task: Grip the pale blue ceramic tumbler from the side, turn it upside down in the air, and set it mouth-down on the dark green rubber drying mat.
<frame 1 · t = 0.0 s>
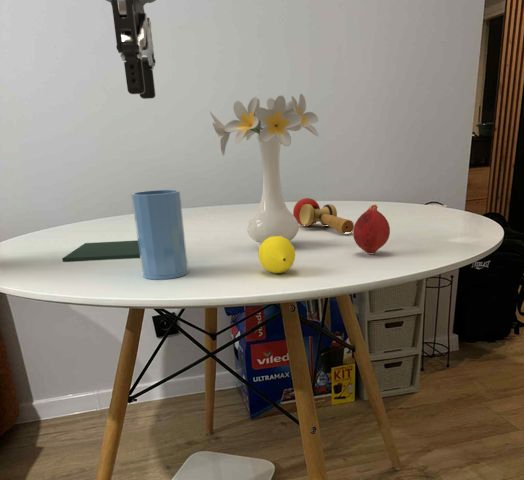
hand: (142, 96, 70), 25 cm above the table, tool pointing down, fingers open, 8 cm apart
tumbler: (165, 273, 77), on the table
flower vase: (270, 248, 92), on the table
onion: (370, 255, 83), on the table
lemon: (277, 274, 74), on the table
drying mat: (122, 250, 95), on the table
kendama: (322, 230, 107), on the table
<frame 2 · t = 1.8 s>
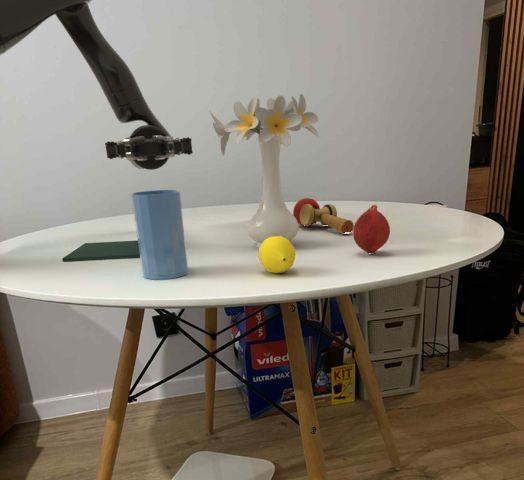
hand: (149, 148, 80), 18 cm above the table, tool horizontal, fingers open, 8 cm apart
nothing on the table moved.
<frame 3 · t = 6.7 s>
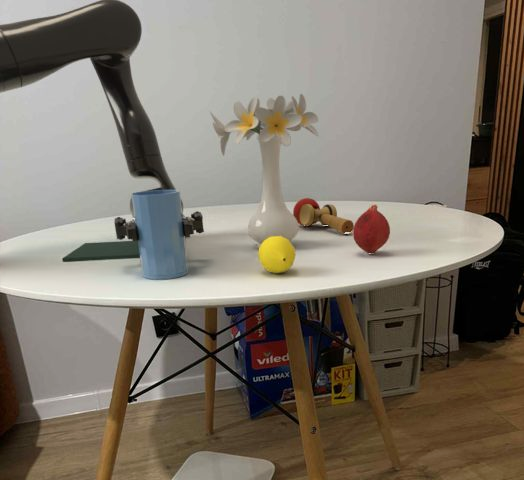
hand: (161, 232, 72), 7 cm above the table, tool horizontal, fingers closed on tumbler, 7 cm apart
tumbler: (165, 273, 77), on the table, touching gripper
everything else where it was.
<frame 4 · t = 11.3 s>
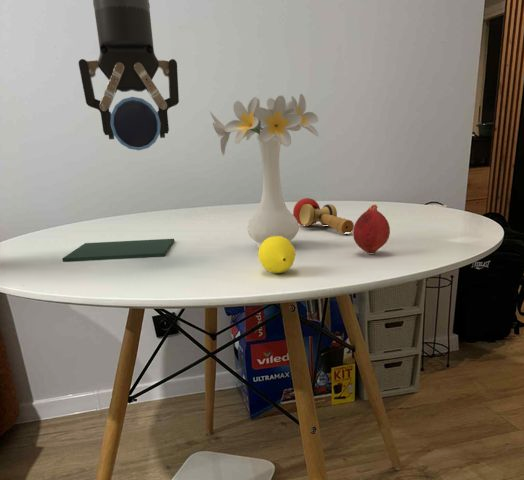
hand: (137, 138, 76), 19 cm above the table, tool pointing down, fingers closed on tumbler, 7 cm apart
tumbler: (135, 126, 81), point 21 cm above the table, tilted 90°, touching gripper
everything else where it was.
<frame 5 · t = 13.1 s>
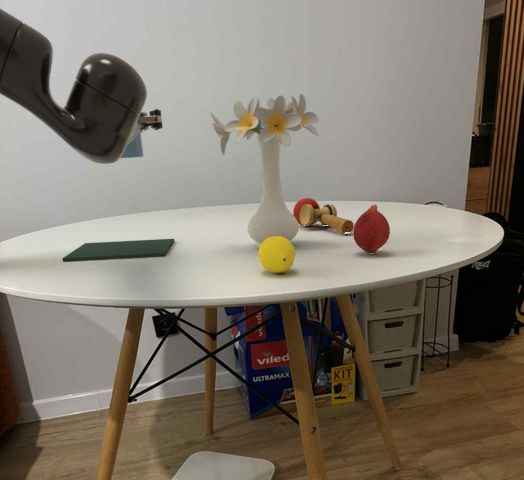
hand: (118, 123, 83), 22 cm above the table, tool horizontal, fingers closed on tumbler, 7 cm apart
tumbler: (111, 76, 79), point 29 cm above the table, tilted 180°, touching gripper
everything else where it was.
when the fingers open (6 cm above the table, at t = 18.7 s): tumbler stays where it is, resting on drying mat.
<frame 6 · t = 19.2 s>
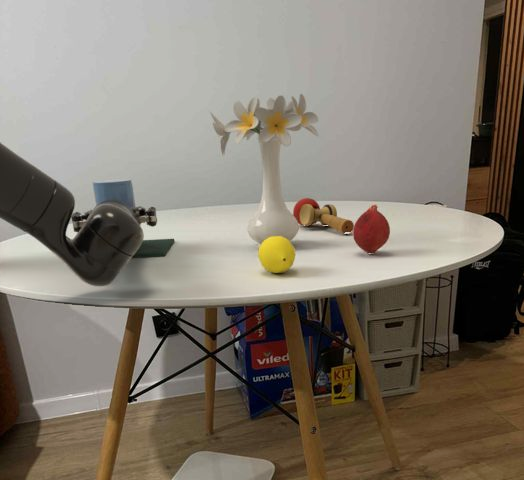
hand: (117, 213, 94), 7 cm above the table, tool horizontal, fingers open, 8 cm apart
tumbler: (112, 180, 90), point 13 cm above the table, tilted 180°, touching drying mat
everything else where it was.
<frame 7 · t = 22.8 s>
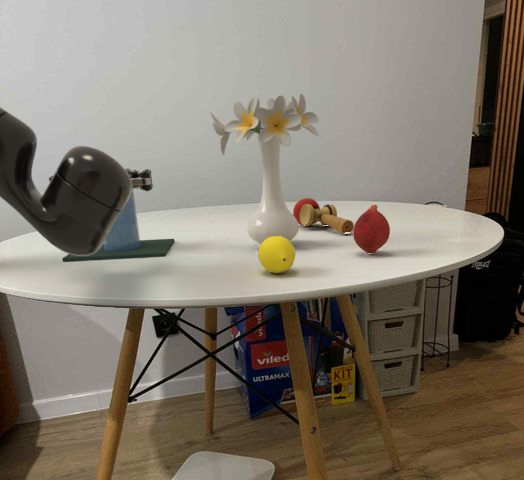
hand: (106, 179, 80), 14 cm above the table, tool horizontal, fingers open, 8 cm apart
nothing on the table moved.
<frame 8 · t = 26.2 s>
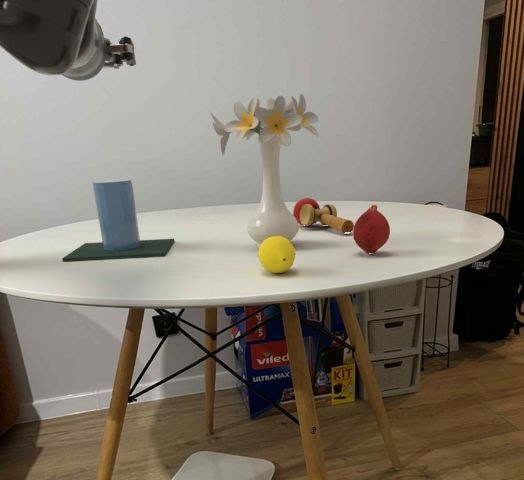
hand: (85, 61, 73), 30 cm above the table, tool horizontal, fingers open, 8 cm apart
nothing on the table moved.
at the end: tumbler tilted 180°; tumbler inside the target area on the drying mat (0.5 cm from its centre), point 12.6 cm above the drying mat's base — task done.
